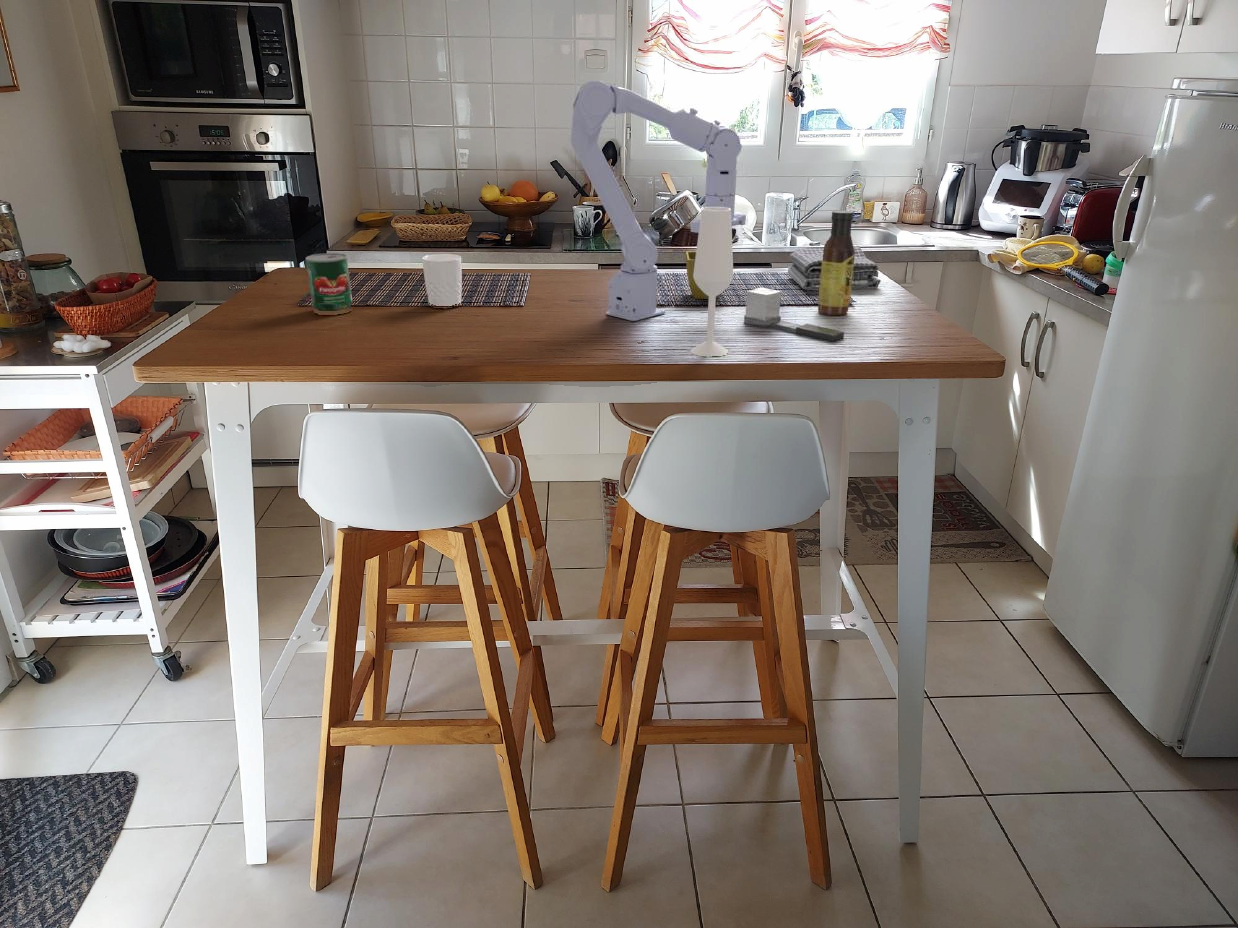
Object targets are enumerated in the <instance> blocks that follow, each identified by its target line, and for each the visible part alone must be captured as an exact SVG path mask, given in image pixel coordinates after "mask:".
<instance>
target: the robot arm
mask: <svg viewBox="0 0 1238 928" xmlns="http://www.w3.org/2000/svg"><path fill="white" fill-rule="evenodd" d="M572 104H573V105H572V117H571V118H572V119H571V128H570V144H571V147H572V148H573V150H574V153H575V154H576V156H577V158H578V160H579V162H580V163H581V166H582V167H583V170H584V171H585V173H586V175H587V177H588V179H589V181H590V183H591V185H592V187H593V189H594V191H595V194H597V196H598V199H599V200H600V201H599V202H600V203H601V204H602V207H603V208H604V210H605V212H606V214H607V216H608V218H609V219H610V220H609V221H610V222H611V223H612V226H613V228H614V230H615V232H616V233H617V235H618V237H619V240H620V245H621V247H620V249H621V252H622V255H623V257H624V258H625V260H624V261H623V263H622V264H621V265H620V270H619V271H618V273H616V274H613V276H612V277H610V280H609V282H608V311H606V312H605V314H606V315H609V316H612V317H616V318H620V319H624V320H628V321H631V322H635V321H640V320H643V319H648V318H651V317H654V316H658V315H662V314H666V310H664V309H660V308H657V296H658V295H657V290H658V289H657V288H658V287H657V286H658V285H657V284H658V266H657V265H655V264H656V263H657V261H658V257H659V256H658V249H657V247H656V244H654V242H653V241H652V240H651V238H650V236H649V235H648V234H647V233H645V232H644V231H643V230H642V227H641V226H640V224H639V222H638V220H637V219H636V217H635V214H634V213H633V210H632V208H631V207H630V204H629V203H628V201H627V199H626V197H625V195H624V193H623V191H622V189H621V186H620V185H619V183H618V181H617V179H616V177H615V174H614V173H613V171H612V168H611V167H610V165H609V163H608V160H607V159H606V157H605V155H604V153H603V151H602V148H601V147H600V144H599V143H598V140H599V137H600V134H601V130H602V127H603V124H604V122H605V121H606V120H607V118H608V117H609V115H610V114H611V113H613V114H614V115H619V114H620V115H621V114H626V113H627V114H629V113H630V114H633V115H635V116H637V117H639V118H643V119H644V120H647V121H648V122H649V121H650V122H652V123H653V124H654V123H655V124H656V125H659V126H662V127H663V128H665V129H667V130H668V132H669V135H670V137H671V140H673V141H676V142H678V143H680V144H682V145H685V146H687V147H689V148H692V149H694V150H695V151H698V152H700V153H704V152H706V155H707V166H706V167H707V168H706V176H705V177H706V178H705V196H704V199H705V200H704V208H705V207H725V208H730V209H731V224H732V227H735V226H736V227H737V226H739V225H740V226H745V225H746V223H747V222H746V217H747V214H742V213H735V204H736V187H737V173H738V172H737V159H738V158H737V157H739V155H740V153H741V151H742V147H743V145H742V144H741V140H740V139H741V138H740V136H739V135H738V133H737V132H736V131H735V130H733V129H731V128H727V127H726V126H724V125H723V126H722V125H721V122H720V121H719V120H717V119H715V120H714V121H713V120H710V119H708V118H706V117H704V116H702V115H699V114H698V112H699V111H698V109H695V108H692V107H691V108H689V109H687V108H682V109H679V110H677V111H675V112H674V111H672V110H670V109H668V108H666V107H664V106H663V105H661V104H659V103H657V102H654V101H653V100H651V99H648V98H646V97H644V96H643V95H640V94H638V93H636V92H635V91H633V90H630V89H627V88H623V87H619V86H616V85H611V84H610V85H609V84H607V83H605V82H604V81H600V80H592V81H587V82H585V83H584V84H583V85H581V87H580V88H579V90H578V92H577V94H576V97H575V99H574V102H573V103H572ZM700 219H701V218H699V219H696V220H693V221H690V233H691V232H692V233H698V234H699V227H700ZM736 235H737V228H732V240H733V239H734V237H735V236H736Z"/></svg>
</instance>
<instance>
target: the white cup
mask: <svg viewBox="0 0 1238 928" xmlns="http://www.w3.org/2000/svg"><path fill="white" fill-rule="evenodd" d="M421 261H422V268H423V276H424V278H423V279H424V282H425V290H426V295H427V300H428V301H427V302H428V304H429V303H430V304H433V305H436V306H452V305H455V304H459V303H461V301H462V293H463V289H462V287H463V282H462V281H463V279H462V278H463V277H462V256H461V255H458V254H455V253H454V254H453V253H438V254H437V253H436V254H428V255H425V256H422V258H421Z"/></svg>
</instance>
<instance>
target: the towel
mask: <svg viewBox="0 0 1238 928" xmlns="http://www.w3.org/2000/svg"><path fill="white" fill-rule="evenodd" d="M853 247H854V251H855V259H854V267H853V277H852V286H851V290H877V289H878V288H879V285H880V284H881V282H882V281H881V279H880V278H879V265H878V264H877V263H876V262H874V261H873V260H871V259H870V258H867V256H866V255H865V252H864V251H863V250H862V248H861V247H860V246H859V245H853ZM823 250H824V247H803V248H802V247H800V248H798V249H796V250H794V251H793V252H792V253H791V254H789V255H788V256H789V257H788V259H789V262H791V265H789V266H788V268H787V273H788V275H789V276H790V277H791V278H792V280H793V281H795V283H797V284H798V285H799V287H801V289H803V290H806V291H810V290H819V287H820V276H821V266H822V260H823Z"/></svg>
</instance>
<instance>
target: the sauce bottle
mask: <svg viewBox="0 0 1238 928" xmlns="http://www.w3.org/2000/svg"><path fill="white" fill-rule="evenodd" d="M853 219H854V212H853V211H851V210H833V211H832V212H831V222H832V223H831V230H830V236H829V238H828V240H826V242H825V244H824V247H823V248H824V250H823V260H822V266H821V276H820V287H819V291H818V300H817V304H818V306H817V311H818V312H819V313H820V314H822V315H828V316H829V315H830V316H841V315H846V314H848V313H849V307H850V303H851V293H852V289H851V286H852V277H853V267H854V259H855V251H854V247H853V246H854V244H853V240H852V222H853Z"/></svg>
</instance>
